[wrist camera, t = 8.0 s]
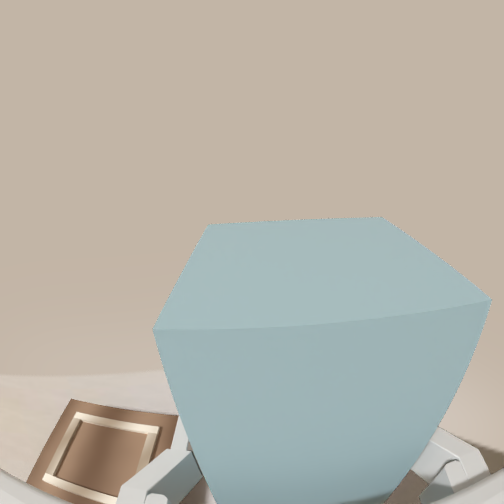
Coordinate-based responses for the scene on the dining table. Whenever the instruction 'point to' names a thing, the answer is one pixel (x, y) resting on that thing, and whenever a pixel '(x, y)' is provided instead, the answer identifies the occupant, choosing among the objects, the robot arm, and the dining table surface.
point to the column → (314, 356)
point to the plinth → (99, 451)
